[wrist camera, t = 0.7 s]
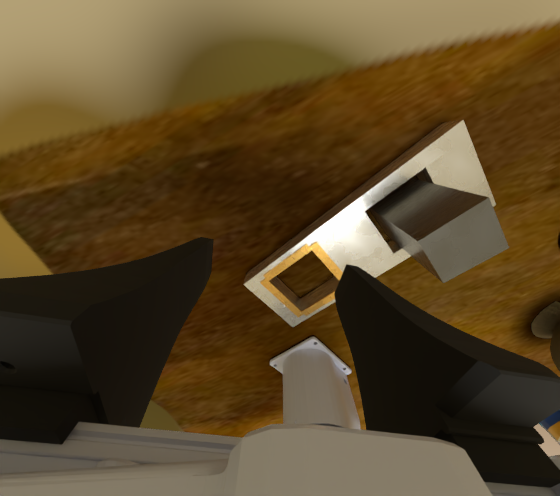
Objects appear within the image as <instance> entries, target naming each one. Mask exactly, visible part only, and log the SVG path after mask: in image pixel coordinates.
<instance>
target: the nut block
mask: <svg viewBox="0 0 560 496" xmlns="http://www.w3.org/2000/svg"><path fill="white" fill-rule="evenodd" d="M369 210H370V211H371V213H372V214H373V216H374V217H375V219H376V220H377V222H378V223H379V225H380V226H381V228H382V229H383V231H384V232H385V234H386V235H387V236H388V237H389V238H390V239H392V240H393V241H394V242H395V243H396V244H398V245H399V246H400V247H401V248H402V249H403V250H405V251H406V252H407V253H408V254H409V255H411V256H412V257H413V258H414V259H415V260H417V261H418V262H419V263H420V264H421V265H423V266H424V267H425V268H426V269H427V270H429V271H430V272H431V273H432V274H433V275H434V276H436V277H437V278H438V279H439V280H440V281H442V282H443V283H444V282H446V281H448V280H450V279H452V278H454V277H456V276H458V275H459V274H461V273H463V272H465V271H467V270H469V269H471V268H472V267H474V266H476V265H478V264H480V263H482V262H484V261H485V260H487V259H489V258H491V257H493V256H495V255H497V254H499V253H500V252H502V251H504V250H506V249H508V248H509V246H508V244H507V241H506V239H505V236H504V234H503V231H502V229H501V226H500V224H499V221H498V219H497V216H496V214H495V211H494V209H493V206H492V204H491V201H490V199H489V197H486V196H481V195H477V194H473V193H469V192H465V191H461V190H457V189H453V188H449V187H445V186H441V185H437V184H433V183H429V182H425V181H421V180H417V179H413V178H410V179H409V180H407V181H406V182H405V183H403V184H402V185H400V186H399V187H398V188H396V189H395V190H393V191H392V192H391V193H389V194H388V195H387V196H385V197H384V198H382V199H381V200H380V201H378V202H377V203H375V204H374V205H373V206H371V207H370V208H369Z"/></svg>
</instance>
